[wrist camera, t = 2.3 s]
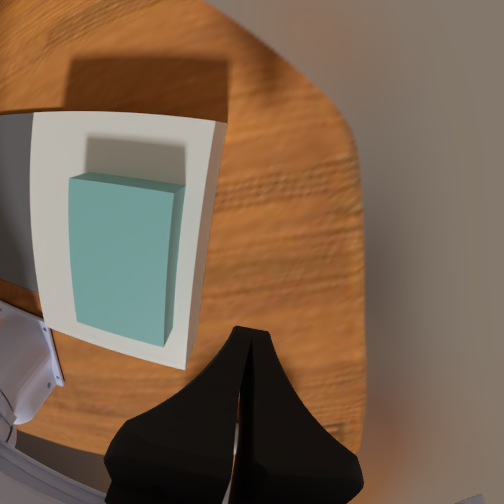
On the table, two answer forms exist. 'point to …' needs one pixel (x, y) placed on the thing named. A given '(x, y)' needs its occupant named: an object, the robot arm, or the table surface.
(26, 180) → the mat
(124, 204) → the teal rectangular block
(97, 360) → the table surface
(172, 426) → the robot arm
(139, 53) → the table surface
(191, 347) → the white flat block
